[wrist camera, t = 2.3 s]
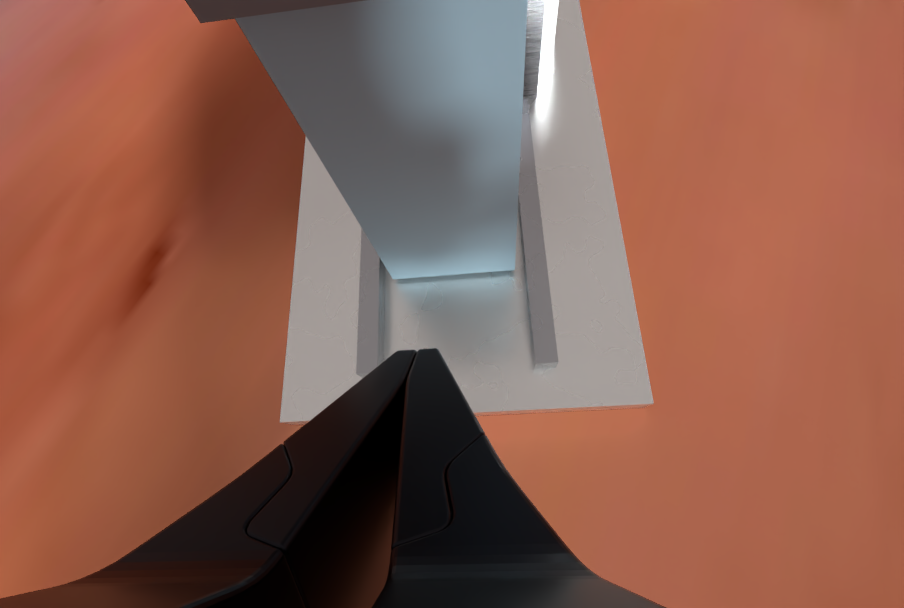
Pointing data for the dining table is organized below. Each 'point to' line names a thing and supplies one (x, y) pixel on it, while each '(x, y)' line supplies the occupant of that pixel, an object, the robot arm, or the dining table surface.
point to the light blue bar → (405, 116)
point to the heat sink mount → (488, 293)
